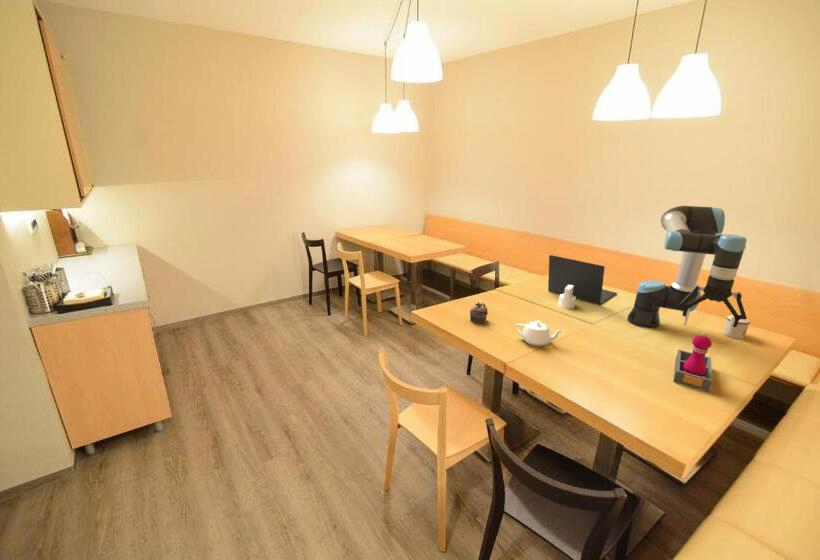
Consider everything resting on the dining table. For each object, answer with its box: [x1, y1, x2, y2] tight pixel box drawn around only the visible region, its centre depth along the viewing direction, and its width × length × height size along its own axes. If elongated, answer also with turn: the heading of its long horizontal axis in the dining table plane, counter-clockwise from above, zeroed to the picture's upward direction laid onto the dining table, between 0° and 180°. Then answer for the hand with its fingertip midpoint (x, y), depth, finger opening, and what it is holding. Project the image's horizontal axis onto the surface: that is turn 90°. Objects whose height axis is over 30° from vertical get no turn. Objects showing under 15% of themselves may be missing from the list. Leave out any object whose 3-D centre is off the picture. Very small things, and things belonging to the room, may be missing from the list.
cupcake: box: [469, 302, 488, 324], centre depth 203 cm, size 10×10×10 cm
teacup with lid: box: [722, 313, 751, 340], centre depth 192 cm, size 12×9×12 cm
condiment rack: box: [673, 349, 713, 393], centre depth 156 cm, size 12×22×5 cm, turn 144°
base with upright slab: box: [557, 285, 577, 310], centre depth 225 cm, size 9×9×12 cm
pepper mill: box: [684, 332, 713, 377], centre depth 150 cm, size 7×7×20 cm
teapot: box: [514, 320, 564, 347], centre depth 181 cm, size 22×14×11 cm, turn 65°
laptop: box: [547, 254, 618, 306], centre depth 243 cm, size 33×35×26 cm
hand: (706, 328), depth 146 cm, fingers open, 13 cm apart
